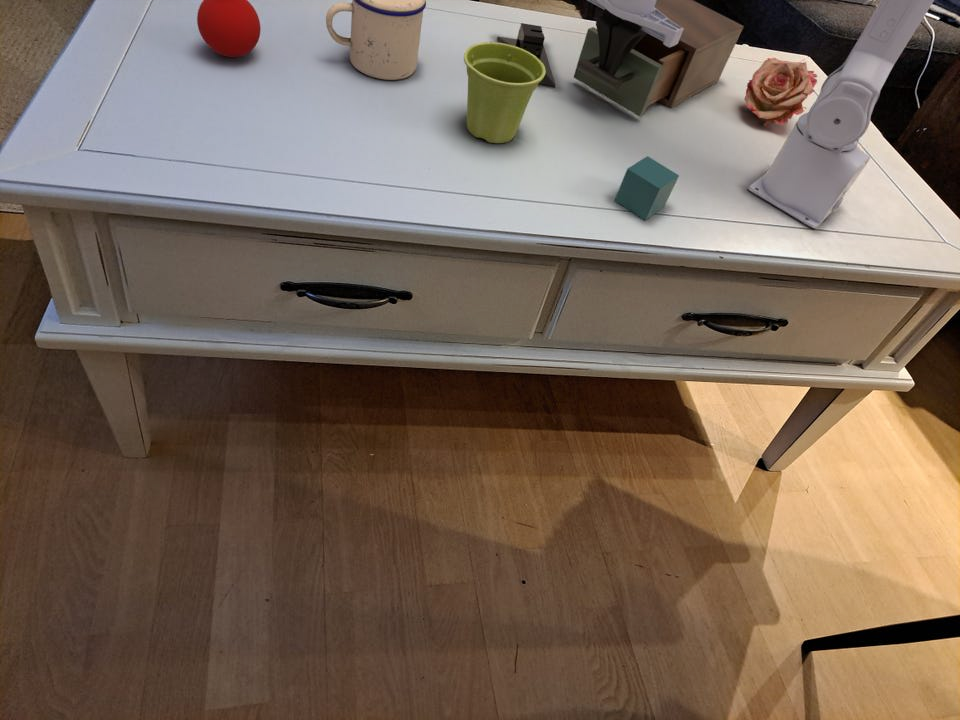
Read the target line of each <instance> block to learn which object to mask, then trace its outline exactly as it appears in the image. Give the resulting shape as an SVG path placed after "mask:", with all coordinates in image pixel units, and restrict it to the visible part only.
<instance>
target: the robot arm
mask: <svg viewBox="0 0 960 720" xmlns="http://www.w3.org/2000/svg"><path fill="white" fill-rule="evenodd" d="M586 1H587V2H589V3H591V4H593V5H595V6H597V7H598V8H601V9H602V10H603V13H602V14H601V15H600V16H598V17H597V18H596V21H595V28H596V29H597V32H598V38H599V67H600V68H601V69H603V70H605V71H607V72H608V73H610V74H612V75H615V73H616V72H617V70H618V68H619V66H620V65H621V63H622V62H623V60H624V59H625V58H626V56H627V55H628V54H629V52H630V51H631V50H632V49H633V48H634V46H635V45H636V44H637V43H638V42H639V41H640V40H641V39H642V38H643V37H644V36H645V35H646V34H647V33H648V34H650V35H652V36H654V37H656V38H657V39H659V40H661V41H663V44H664V45H665V46H667V47H669V48H670V47H672V46H675V45H676V44H678V42H679V39H680V37H681V34H682V32H683V29H684V28H682V27H680V26H678V25H677V24H675V23H674V22H673V21H671V20H670V19H669V18H667V17H666V16H665V15H664V14H662V13H661V12H660V11H659V10H657V9H656V8H655V4H656V1H657V0H586ZM934 2H935V0H880V1H879V3H878V4H877V6H876V8H875V9H874V11H873V13H872V15H871V16H870V18H869V20H868V22H867V24H866V25H865V27H864V29H863V31H862V32H861V34H860V36H859V38H858V40H857V41H856V42H855V45H854V46H853V47H852V49H851V50H850V52H849V54H848V56H847V58H846V59H845V61H844V62H843V63H842V65H840V66H839V67H838V68H837V69H835V70H834V71H833V72H831V73H830V74H829V75H828V76H827V77H826V78H825V80H824V81H823V83H822V85H821V88H820V91H819V94H818V96H817V98H816V100H815V101H814V102H813V103H812V105H811V107H810V108H809V109H808V112H805V113H802V114H800V116H799V118H798V119H797V121H796V123H795V124H794V126H793V128H792V129H791V131H790V132H789V134H788V136H787V138H786V139H785V141H784V143H783V145H782V146H781V149H779V151H778V153H777V155H776V157H775V158H774V160H773V161H772V163H771V165H770V167H769V168H768V170H767V171H766V172H765V173H764V174H762V175H761V176H760V177H759V178H757V179H756V180H755V181H754V182H753V183H751V184H750V185H749V187H748V190H749V191H750V192H751V193H753V194H755V195H757V196H758V197H759V198H761V199H763V200H765V201H766V202H768V203H769V204H771V205H773V206H775V207H777V208H778V209H780V210H781V211H783V212H785V213H787V214H788V215H790V216H792V217H793V218H795V219H796V220H798V221H800V222H801V223H803V224H805V225H807V226H808V227H810V228H812V229H817V228H818V227H819V226H820V225H821V224H822V223H823V222H824V221H825V220H826V219H827V218H829V216H830V214H832V213H833V212H836V211H837V209H838V208H839V207H840V205H841V204H842V203H843V201H844V197H845V196H846V194H847V193H848V192H849V190H850V189H851V187H852V186H853V185H854V183H855V182H856V180H857V179H858V178H859V175H861V173H862V172H863V170H864V169H865V168H866V166H867V164H868V162H869V161H870V159H871V157H870V155H868V154H867V153H865V152H864V151H862V150H861V148H860V147H859V146H858V144H859V141H860V139H861V138H862V137H863V136H864V135H865V133H866V132H867V130H868V128H869V126H870V123H871V118H872V117H871V116H872V115H873V111H874V108H875V105H876V104H877V102H878V100H879V98H880V94H881V90H882V89H883V86H884V85H885V83H886V81H887V79H888V77H889V75H890V73H891V71H892V69H893V68H894V66H895V64H896V63H897V61H898V59H899V58H900V56H901V55H902V53H903V51H904V50H905V48H906V47H907V44H908V43H909V42H910V40H911V38H912V36H913V35H914V34H915V32H916V31H917V29H918V27H919V26H920V24H921V22H922V21H923V19H924V18H925V16H926V15H927V13H928V11H929V9H930V8H931V6H932V5H933V3H934Z"/></svg>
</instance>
